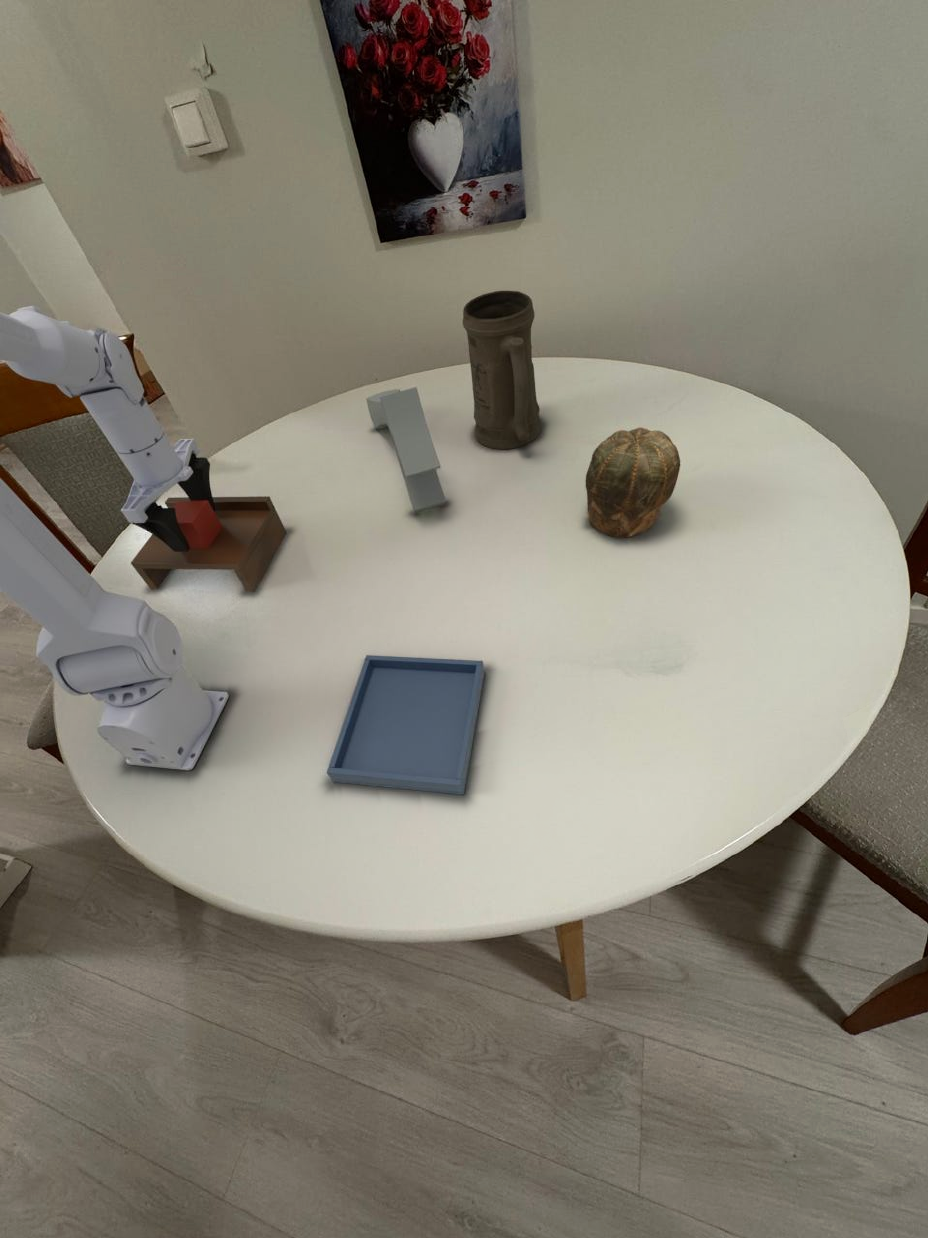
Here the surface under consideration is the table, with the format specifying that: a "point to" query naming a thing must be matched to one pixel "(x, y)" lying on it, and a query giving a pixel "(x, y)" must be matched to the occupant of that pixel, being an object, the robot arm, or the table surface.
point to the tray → (410, 724)
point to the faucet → (410, 444)
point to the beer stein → (502, 368)
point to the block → (197, 523)
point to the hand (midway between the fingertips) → (195, 530)
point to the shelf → (221, 543)
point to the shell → (630, 481)
